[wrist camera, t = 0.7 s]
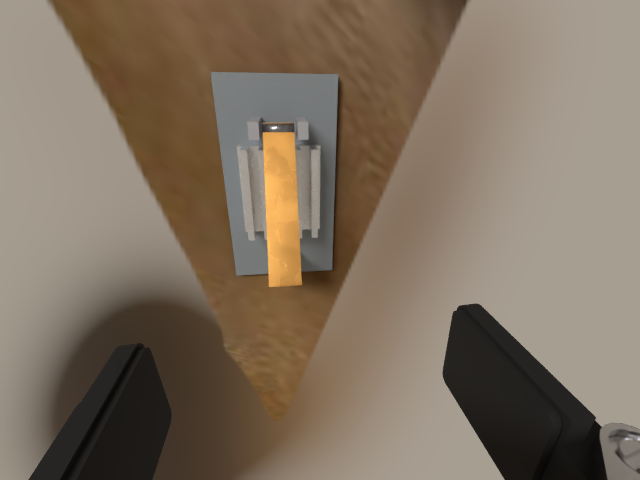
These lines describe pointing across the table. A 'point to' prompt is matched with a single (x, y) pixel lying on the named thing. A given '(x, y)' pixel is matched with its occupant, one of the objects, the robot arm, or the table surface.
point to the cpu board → (246, 128)
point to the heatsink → (255, 187)
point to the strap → (281, 204)
